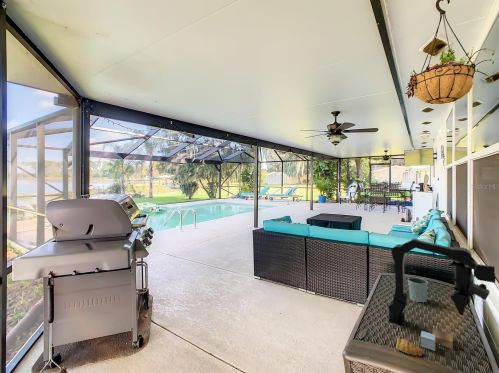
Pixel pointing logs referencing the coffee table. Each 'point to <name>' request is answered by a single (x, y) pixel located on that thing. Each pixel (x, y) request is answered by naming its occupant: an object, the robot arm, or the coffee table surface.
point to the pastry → (408, 347)
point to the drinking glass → (418, 289)
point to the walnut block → (443, 338)
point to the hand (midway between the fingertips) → (462, 311)
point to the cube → (428, 340)
